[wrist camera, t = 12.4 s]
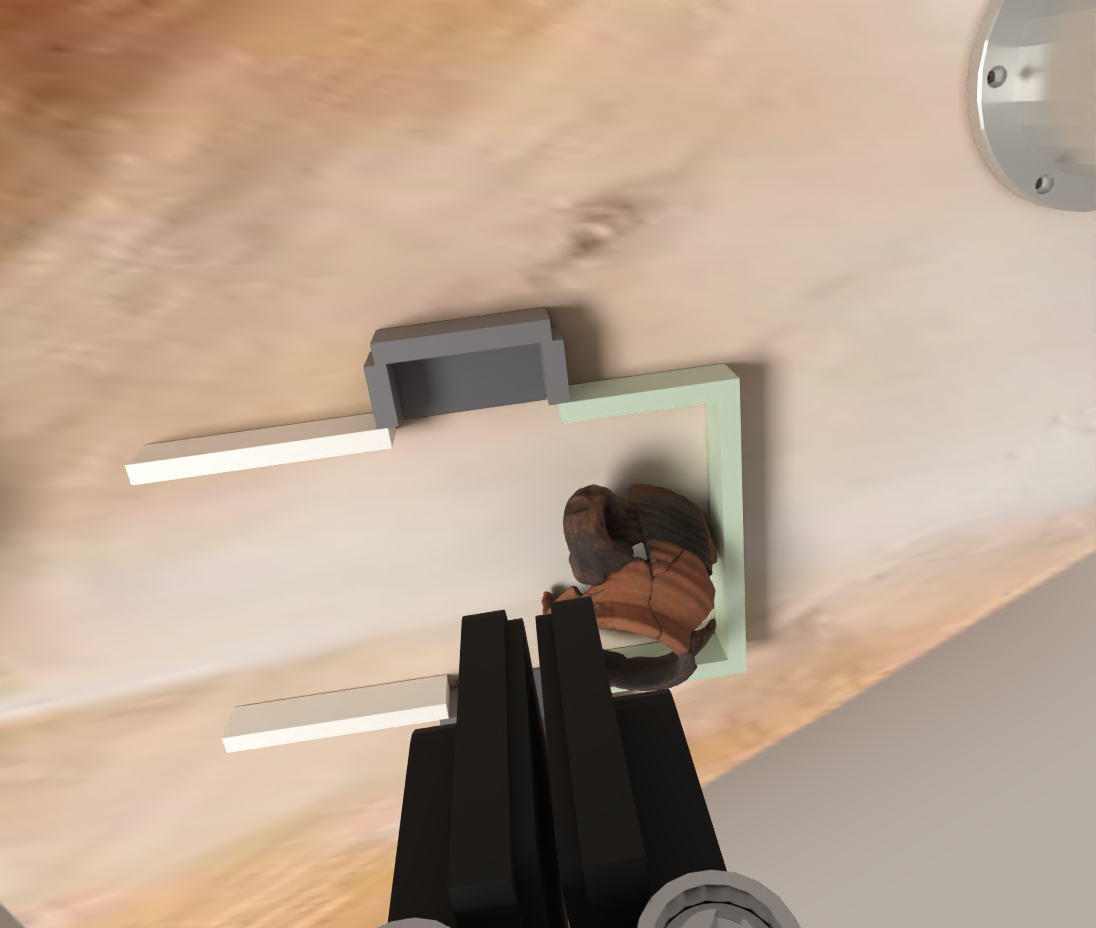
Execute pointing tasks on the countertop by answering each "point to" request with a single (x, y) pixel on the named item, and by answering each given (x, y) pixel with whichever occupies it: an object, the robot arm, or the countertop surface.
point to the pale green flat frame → (454, 386)
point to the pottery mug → (643, 577)
